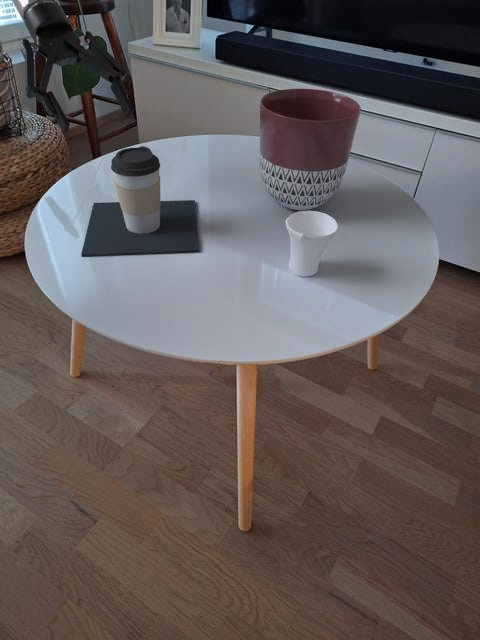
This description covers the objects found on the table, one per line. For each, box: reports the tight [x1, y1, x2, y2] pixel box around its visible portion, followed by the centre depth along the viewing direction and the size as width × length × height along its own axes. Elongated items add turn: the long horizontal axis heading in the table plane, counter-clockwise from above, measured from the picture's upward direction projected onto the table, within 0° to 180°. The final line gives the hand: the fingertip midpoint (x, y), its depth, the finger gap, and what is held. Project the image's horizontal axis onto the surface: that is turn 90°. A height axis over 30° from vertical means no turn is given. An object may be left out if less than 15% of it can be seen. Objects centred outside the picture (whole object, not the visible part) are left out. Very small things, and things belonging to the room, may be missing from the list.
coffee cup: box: [110, 145, 161, 234], centre depth 89 cm, size 9×9×15 cm
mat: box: [80, 199, 201, 258], centre depth 95 cm, size 22×20×1 cm
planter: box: [259, 88, 362, 211], centre depth 97 cm, size 20×20×21 cm
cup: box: [285, 210, 339, 278], centre depth 82 cm, size 9×9×10 cm
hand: (99, 121), depth 88 cm, fingers open, 13 cm apart
